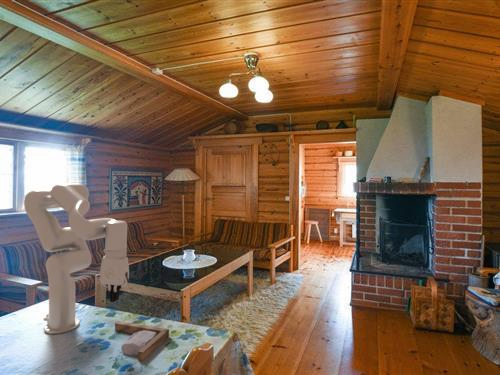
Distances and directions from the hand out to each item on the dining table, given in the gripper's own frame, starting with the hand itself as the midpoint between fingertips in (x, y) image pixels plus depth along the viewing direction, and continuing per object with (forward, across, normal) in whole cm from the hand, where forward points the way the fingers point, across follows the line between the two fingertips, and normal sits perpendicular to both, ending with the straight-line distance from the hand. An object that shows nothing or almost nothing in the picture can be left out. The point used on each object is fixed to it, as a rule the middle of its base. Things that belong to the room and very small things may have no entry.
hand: (114, 300), depth 115 cm
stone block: (+16, +11, +1) cm, 20 cm away
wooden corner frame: (+16, +6, +1) cm, 17 cm away
